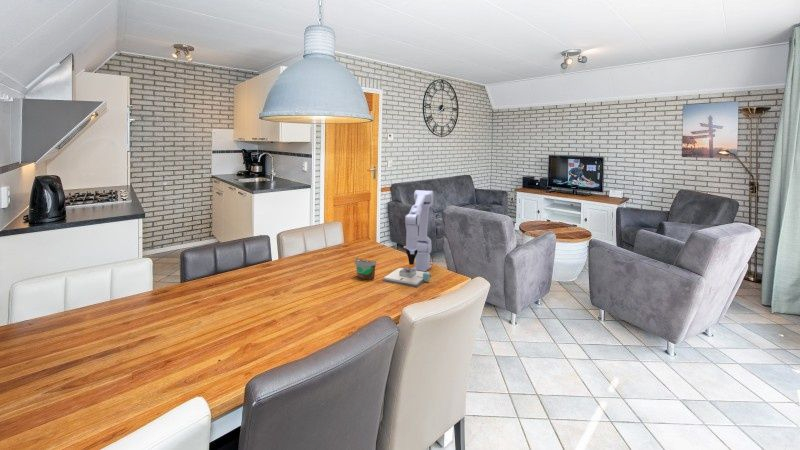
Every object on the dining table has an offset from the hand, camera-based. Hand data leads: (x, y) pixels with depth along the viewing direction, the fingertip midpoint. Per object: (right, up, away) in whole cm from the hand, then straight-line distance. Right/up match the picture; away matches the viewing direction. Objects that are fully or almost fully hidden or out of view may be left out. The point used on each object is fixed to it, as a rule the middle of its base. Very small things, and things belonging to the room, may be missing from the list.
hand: (411, 264), depth 205 cm
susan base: (-2, -8, +7) cm, 11 cm away
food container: (-25, -8, +6) cm, 27 cm away
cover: (-2, -6, +7) cm, 9 cm away
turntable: (0, -7, +6) cm, 10 cm away
